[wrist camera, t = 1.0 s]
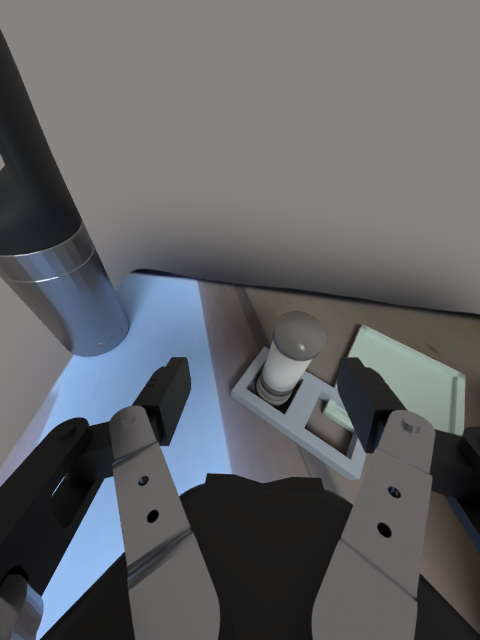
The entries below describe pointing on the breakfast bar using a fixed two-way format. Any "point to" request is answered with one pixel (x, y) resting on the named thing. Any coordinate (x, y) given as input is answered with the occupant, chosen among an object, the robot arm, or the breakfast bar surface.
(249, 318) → the breakfast bar surface
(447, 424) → the tray
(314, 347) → the grey-capped white cylinder
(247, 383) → the fuse block
